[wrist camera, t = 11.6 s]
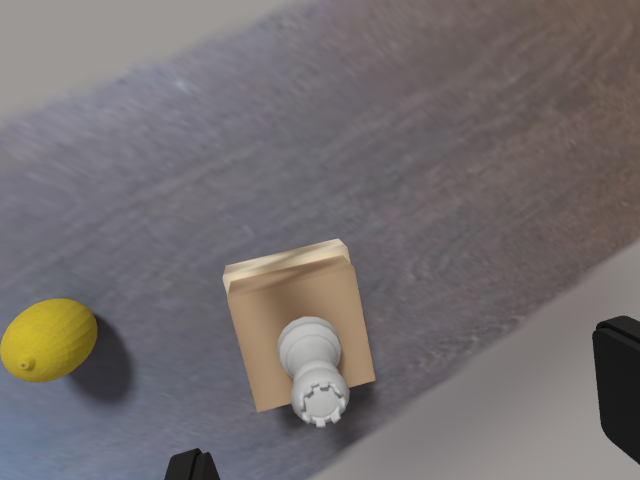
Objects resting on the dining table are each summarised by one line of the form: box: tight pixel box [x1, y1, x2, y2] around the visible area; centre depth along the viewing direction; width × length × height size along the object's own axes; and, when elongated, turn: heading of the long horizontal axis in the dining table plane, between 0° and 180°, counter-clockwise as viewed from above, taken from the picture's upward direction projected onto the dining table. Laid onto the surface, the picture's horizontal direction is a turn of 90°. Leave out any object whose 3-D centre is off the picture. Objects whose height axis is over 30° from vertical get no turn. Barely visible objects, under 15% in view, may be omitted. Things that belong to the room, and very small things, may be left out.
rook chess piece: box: [277, 317, 350, 428], centre depth 25 cm, size 4×4×8 cm
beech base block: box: [223, 239, 350, 296], centre depth 35 cm, size 10×10×4 cm
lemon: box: [0, 298, 98, 382], centre depth 30 cm, size 6×6×8 cm
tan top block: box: [227, 255, 375, 412], centre depth 31 cm, size 9×9×4 cm
